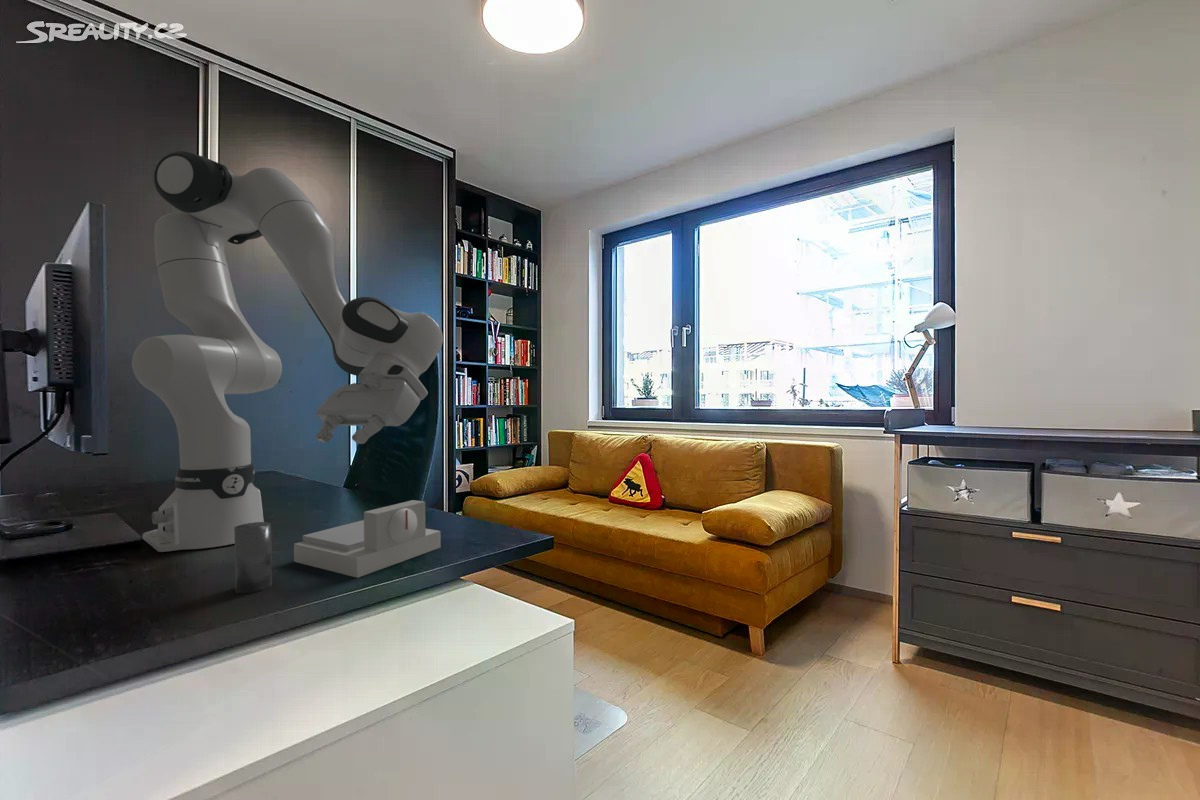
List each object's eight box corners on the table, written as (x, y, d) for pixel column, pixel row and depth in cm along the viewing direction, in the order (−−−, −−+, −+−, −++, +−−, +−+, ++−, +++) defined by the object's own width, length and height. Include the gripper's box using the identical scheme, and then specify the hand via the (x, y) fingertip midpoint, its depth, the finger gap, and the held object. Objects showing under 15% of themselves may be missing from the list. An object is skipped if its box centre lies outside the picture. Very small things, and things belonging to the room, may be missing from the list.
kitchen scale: (294, 561, 86) (293, 507, 86) (380, 536, 101) (379, 490, 101) (359, 578, 78) (359, 519, 78) (442, 547, 93) (442, 498, 93)
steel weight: (229, 590, 74) (227, 527, 74) (261, 580, 78) (260, 520, 78) (246, 595, 72) (244, 531, 72) (278, 585, 76) (277, 524, 76)
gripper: (337, 372, 98) (287, 427, 89) (414, 367, 88) (366, 429, 80) (359, 395, 102) (313, 450, 93) (435, 393, 92) (391, 454, 84)
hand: (338, 440), depth 86 cm, fingers open, 8 cm apart
